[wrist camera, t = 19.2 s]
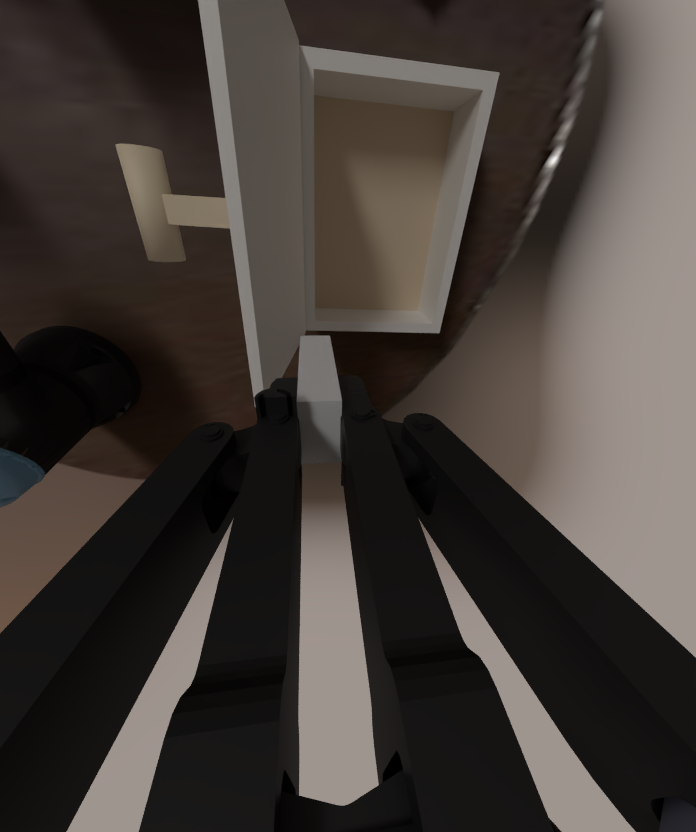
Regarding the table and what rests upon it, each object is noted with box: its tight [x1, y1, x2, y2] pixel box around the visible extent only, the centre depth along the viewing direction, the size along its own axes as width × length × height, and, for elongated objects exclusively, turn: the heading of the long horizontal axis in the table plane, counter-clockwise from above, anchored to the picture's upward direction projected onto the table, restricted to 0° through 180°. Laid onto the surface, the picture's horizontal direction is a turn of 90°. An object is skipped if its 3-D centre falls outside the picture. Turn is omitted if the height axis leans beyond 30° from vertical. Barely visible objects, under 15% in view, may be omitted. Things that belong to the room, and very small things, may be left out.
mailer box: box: [299, 46, 499, 333], centre depth 35 cm, size 18×24×8 cm
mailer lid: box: [116, 0, 306, 407], centre depth 23 cm, size 18×24×9 cm
